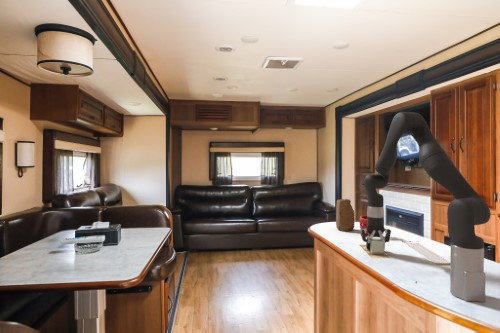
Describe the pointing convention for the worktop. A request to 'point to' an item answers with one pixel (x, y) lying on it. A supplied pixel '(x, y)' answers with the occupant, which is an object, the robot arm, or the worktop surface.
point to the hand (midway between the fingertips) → (375, 250)
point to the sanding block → (376, 246)
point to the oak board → (375, 254)
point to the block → (344, 215)
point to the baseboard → (428, 254)
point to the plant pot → (363, 224)
